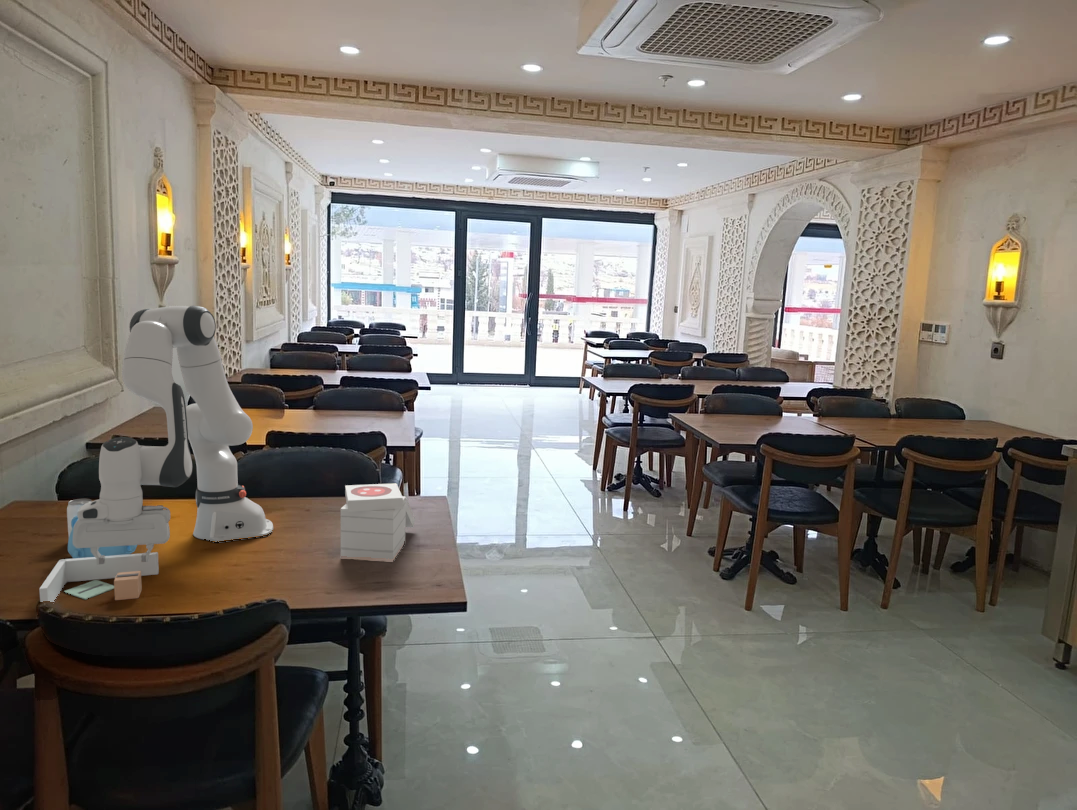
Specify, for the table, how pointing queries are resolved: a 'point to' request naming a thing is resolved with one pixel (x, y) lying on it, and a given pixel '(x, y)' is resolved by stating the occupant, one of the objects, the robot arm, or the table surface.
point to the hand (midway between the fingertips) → (123, 562)
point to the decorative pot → (102, 550)
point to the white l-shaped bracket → (93, 574)
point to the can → (74, 510)
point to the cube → (127, 585)
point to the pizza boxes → (374, 520)
